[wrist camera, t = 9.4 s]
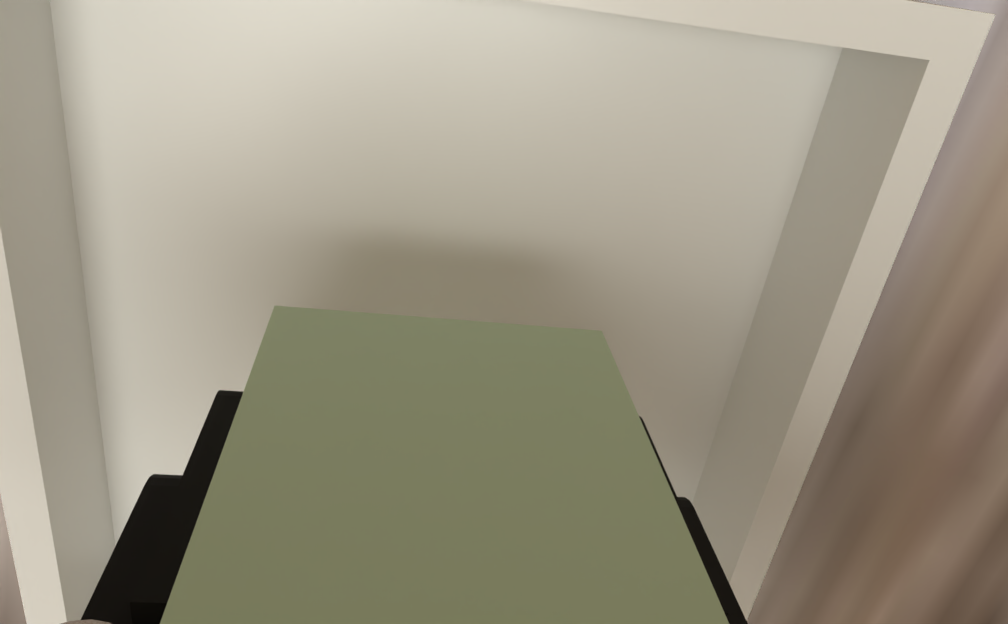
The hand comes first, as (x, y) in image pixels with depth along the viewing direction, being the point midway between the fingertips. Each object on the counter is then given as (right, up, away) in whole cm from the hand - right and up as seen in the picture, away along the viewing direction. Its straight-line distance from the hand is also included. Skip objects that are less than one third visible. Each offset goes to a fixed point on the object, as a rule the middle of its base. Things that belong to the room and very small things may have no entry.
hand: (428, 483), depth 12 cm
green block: (0, 0, +1) cm, 1 cm away
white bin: (0, +3, +5) cm, 6 cm away
